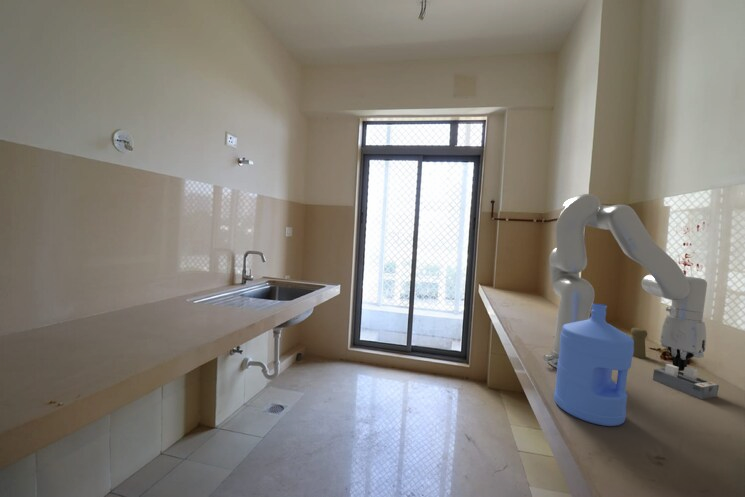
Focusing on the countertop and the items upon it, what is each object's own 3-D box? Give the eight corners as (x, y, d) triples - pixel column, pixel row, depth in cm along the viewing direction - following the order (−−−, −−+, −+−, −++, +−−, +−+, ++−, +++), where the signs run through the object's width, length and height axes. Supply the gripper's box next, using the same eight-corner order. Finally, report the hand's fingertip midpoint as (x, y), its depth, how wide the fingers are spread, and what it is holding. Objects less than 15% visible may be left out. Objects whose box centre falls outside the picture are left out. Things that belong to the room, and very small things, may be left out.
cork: (649, 359, 126) (653, 331, 125) (632, 357, 127) (635, 329, 126) (640, 353, 132) (643, 327, 131) (623, 351, 133) (626, 325, 132)
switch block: (701, 399, 95) (703, 386, 95) (652, 379, 107) (654, 368, 106) (717, 396, 97) (718, 384, 97) (668, 377, 109) (669, 366, 109)
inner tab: (673, 379, 102) (674, 367, 102) (664, 376, 104) (665, 364, 104) (677, 379, 103) (678, 367, 102) (668, 375, 105) (669, 364, 105)
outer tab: (692, 382, 101) (693, 370, 101) (682, 379, 103) (684, 367, 103) (696, 382, 102) (697, 369, 101) (686, 378, 104) (688, 366, 104)
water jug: (543, 403, 86) (554, 300, 84) (567, 389, 95) (578, 296, 94) (612, 436, 73) (627, 316, 72) (633, 415, 83) (646, 309, 81)
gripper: (652, 309, 110) (645, 361, 111) (709, 321, 96) (701, 381, 97) (665, 308, 112) (659, 359, 113) (724, 321, 98) (716, 379, 99)
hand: (679, 369), depth 105 cm, fingers closed
